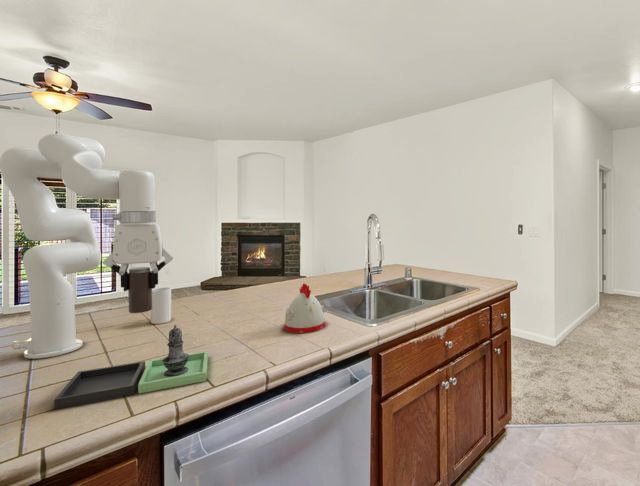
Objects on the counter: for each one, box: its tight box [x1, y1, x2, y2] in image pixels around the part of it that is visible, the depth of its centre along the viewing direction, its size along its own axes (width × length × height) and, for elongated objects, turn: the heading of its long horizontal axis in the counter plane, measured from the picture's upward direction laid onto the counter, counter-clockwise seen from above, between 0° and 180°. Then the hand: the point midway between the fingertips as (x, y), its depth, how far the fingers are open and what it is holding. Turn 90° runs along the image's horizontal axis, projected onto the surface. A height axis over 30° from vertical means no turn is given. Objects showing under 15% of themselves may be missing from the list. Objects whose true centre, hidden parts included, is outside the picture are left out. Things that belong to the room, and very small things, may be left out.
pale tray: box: [137, 350, 209, 394], centre depth 92 cm, size 14×15×2 cm
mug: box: [149, 286, 172, 325], centre depth 136 cm, size 10×7×12 cm, turn 38°
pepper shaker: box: [127, 266, 152, 314], centre depth 94 cm, size 5×5×11 cm
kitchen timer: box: [284, 283, 326, 334], centre depth 129 cm, size 14×14×15 cm
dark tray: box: [53, 360, 146, 410], centre depth 86 cm, size 14×15×2 cm
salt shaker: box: [162, 324, 190, 377], centre depth 92 cm, size 6×6×12 cm
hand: (140, 288), depth 94 cm, fingers closed on pepper shaker, 5 cm apart
